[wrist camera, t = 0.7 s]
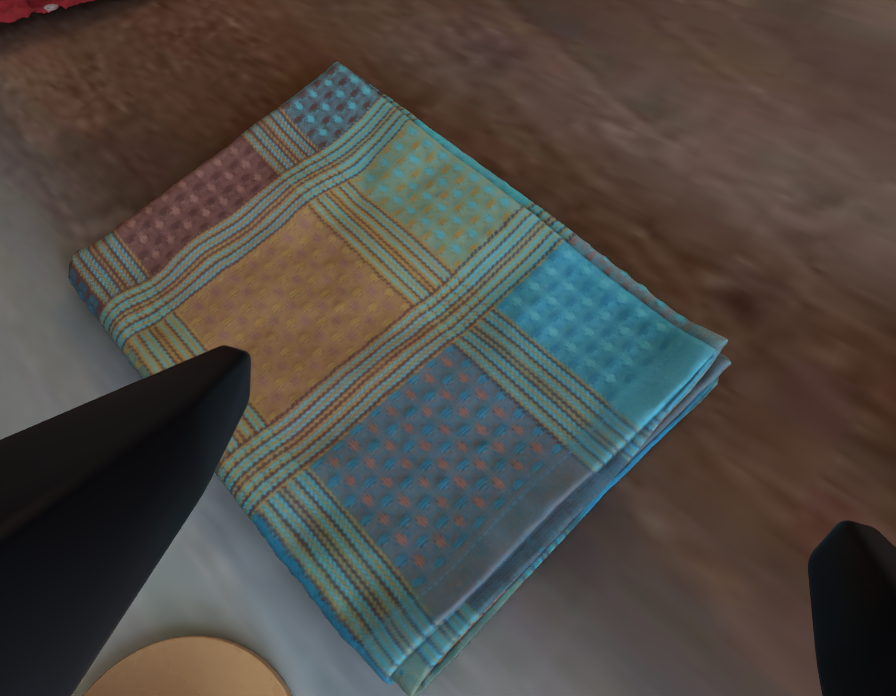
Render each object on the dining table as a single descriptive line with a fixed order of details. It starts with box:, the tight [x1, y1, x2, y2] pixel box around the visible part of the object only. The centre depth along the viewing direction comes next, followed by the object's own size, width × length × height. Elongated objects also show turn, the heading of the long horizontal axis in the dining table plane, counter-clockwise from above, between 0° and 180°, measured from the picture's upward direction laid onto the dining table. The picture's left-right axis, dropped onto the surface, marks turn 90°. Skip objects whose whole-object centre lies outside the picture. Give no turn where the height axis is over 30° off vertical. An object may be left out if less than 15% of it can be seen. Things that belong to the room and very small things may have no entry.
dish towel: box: [68, 62, 731, 696], centre depth 26 cm, size 17×23×2 cm
